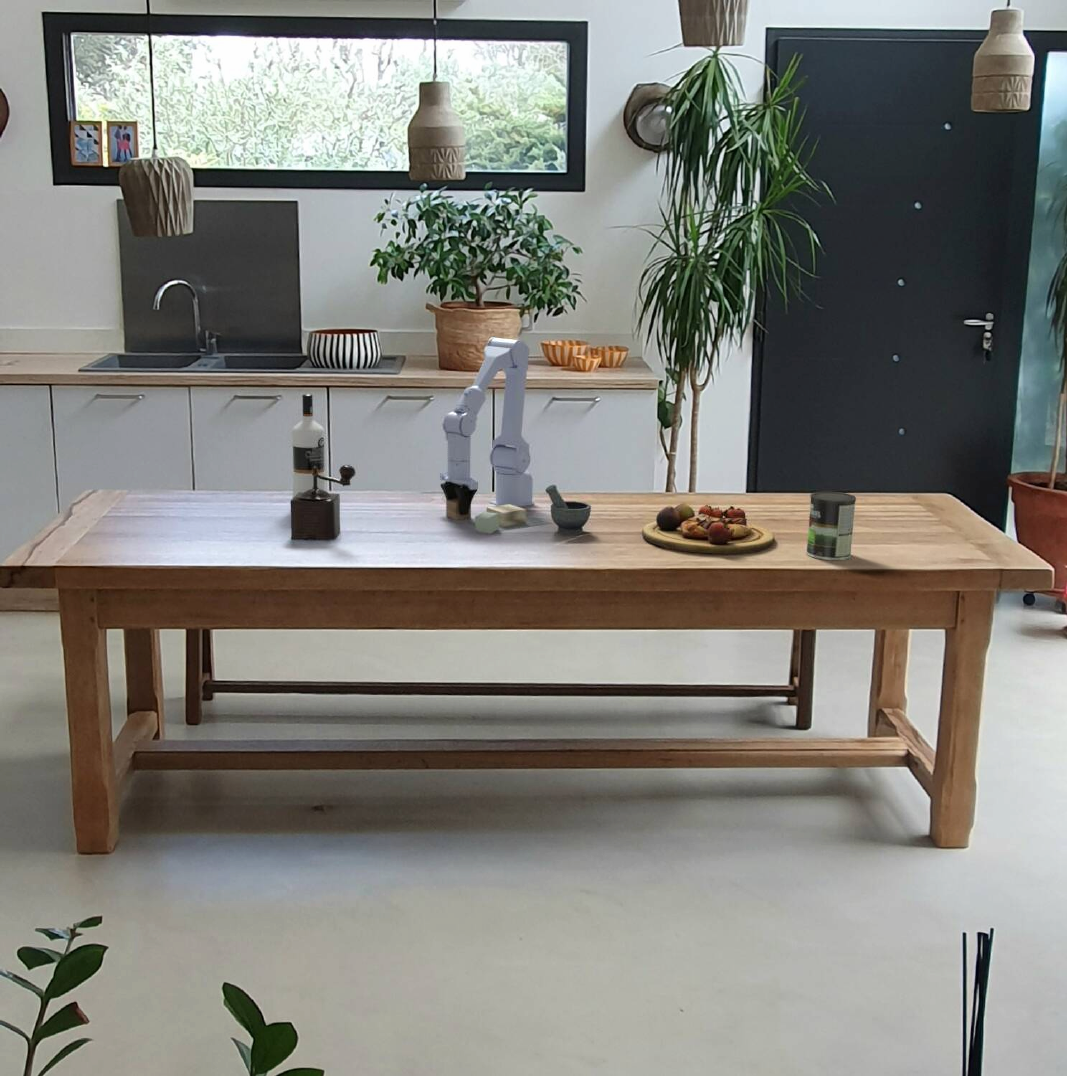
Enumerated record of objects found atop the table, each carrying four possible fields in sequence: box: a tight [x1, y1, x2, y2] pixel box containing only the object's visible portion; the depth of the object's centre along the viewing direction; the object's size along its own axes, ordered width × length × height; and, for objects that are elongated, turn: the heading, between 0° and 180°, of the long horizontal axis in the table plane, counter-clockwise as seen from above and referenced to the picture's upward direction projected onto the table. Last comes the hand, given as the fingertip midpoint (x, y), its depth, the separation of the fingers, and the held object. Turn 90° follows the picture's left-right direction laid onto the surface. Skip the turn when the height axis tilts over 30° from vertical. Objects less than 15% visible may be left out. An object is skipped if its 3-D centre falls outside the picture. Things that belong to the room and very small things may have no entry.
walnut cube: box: [445, 499, 472, 521], centre depth 341 cm, size 4×4×4 cm
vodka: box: [291, 393, 327, 500], centre depth 343 cm, size 9×9×30 cm
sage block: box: [474, 511, 499, 534], centre depth 327 cm, size 4×4×4 cm
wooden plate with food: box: [641, 502, 776, 555], centre depth 325 cm, size 32×32×8 cm
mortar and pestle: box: [545, 484, 592, 536], centre depth 327 cm, size 11×9×12 cm
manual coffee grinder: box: [290, 464, 356, 541], centre depth 319 cm, size 16×11×18 cm
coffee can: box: [805, 491, 857, 562], centre depth 311 cm, size 10×10×14 cm
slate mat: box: [461, 514, 552, 533], centre depth 337 cm, size 18×14×1 cm
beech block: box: [486, 504, 527, 527], centre depth 337 cm, size 7×7×4 cm
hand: (458, 512), depth 341 cm, fingers closed on walnut cube, 4 cm apart
